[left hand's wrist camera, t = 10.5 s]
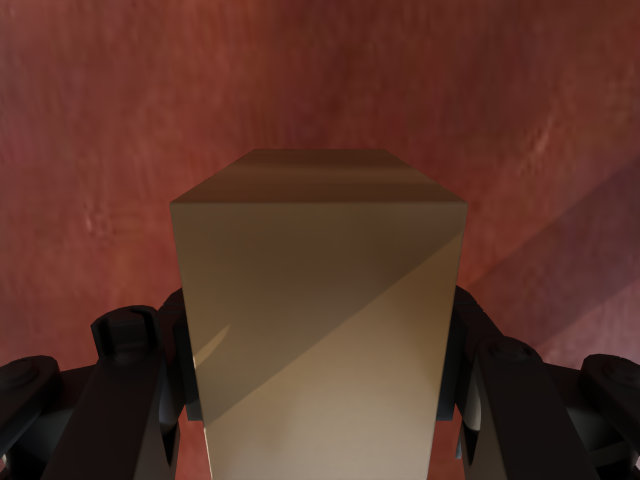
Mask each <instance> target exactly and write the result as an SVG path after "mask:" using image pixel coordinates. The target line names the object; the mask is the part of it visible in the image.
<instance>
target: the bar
mask: <svg viewBox="0 0 640 480" xmlns="http://www.w3.org/2000/svg"><path fill="white" fill-rule="evenodd" d="M467 208H468V202H466V201H465V200H463V199H462V198H460V197H458V196H457V195H455V194H454V193H452V192H451V191H449V190H448V189H446V188H444V187H443V186H441V185H440V184H438V183H437V182H435V181H433V180H432V179H430V178H429V177H427V176H426V175H424V174H422V173H421V172H419V171H418V170H416V169H415V168H413V167H411V166H410V165H408V164H407V163H405V162H404V161H402V160H400V159H399V158H397V157H396V156H394V155H393V154H391V153H390V152H388V151H386V150H385V149H254V150H252V151H251V152H249V153H248V154H246V155H244V156H243V157H241V158H240V159H238V160H237V161H235V162H233V163H232V164H230V165H229V166H227V167H225V168H224V169H222V170H221V171H219V172H218V173H216V174H214V175H213V176H211V177H210V178H208V179H206V180H205V181H203V182H202V183H200V184H199V185H197V186H195V187H194V188H192V189H191V190H189V191H187V192H186V193H184V194H183V195H181V196H180V197H178V198H176V199H175V200H173V201H172V202H170V212H171V218H172V224H173V231H174V237H175V244H176V250H177V257H178V263H179V270H180V276H181V283H182V289H183V296H184V302H185V309H186V315H187V322H188V328H189V335H190V341H191V348H192V354H193V361H194V367H195V374H196V380H197V387H198V393H199V400H200V406H201V413H202V419H203V426H204V432H205V439H206V445H207V452H208V458H209V465H210V471H211V478H212V480H427V475H428V468H429V461H430V455H431V448H432V441H433V435H434V428H435V421H436V415H437V408H438V401H439V395H440V388H441V381H442V375H443V368H444V361H445V355H446V348H447V342H448V335H449V328H450V322H451V315H452V308H453V302H454V295H455V288H456V282H457V275H458V268H459V262H460V255H461V248H462V242H463V235H464V228H465V222H466V215H467Z"/></svg>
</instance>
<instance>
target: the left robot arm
mask: <svg viewBox="0 0 640 480" xmlns="http://www.w3.org/2000/svg"><path fill="white" fill-rule="evenodd" d="M91 330H92V333H93V337H94V341H95V344H96V348H97V352H98V356H99V359H98V361H97V363H96V364H95V365H91V366H86V367H82V368H77V369H72V370H67V371H62V372H60V369H59V366H58V363H57V361H56V360H55V359H54V358H52V357H50V356H43V355H40V356H32V357H25V358H21V359H18V360H15V361H12V362H10V363H9V364H6V365H4V366H2V367H0V459H1V458H2V459H3V461H4V463H5V466H6V467H5V468H4V469H3V470H2V471H1V473H0V480H175V473H176V466H177V458H178V450H179V442H180V428H179V422H178V418H179V416H180V414H181V412H182V409H183V407H184V405H186V411H187V417H188V421H203V419H202V413H201V406H200V400H199V393H198V387H197V380H196V374H195V367H194V361H193V354H192V348H191V341H190V335H189V328H188V322H187V315H186V309H185V302H184V296H183V289H182V288H180V289H179V290H177V291H175V292H174V293H172V294H171V295H170V296H169V297H168V299H167V300H166V301H165V302H164V304H163V306H161V307H160V309H159V310H158V311H157V310H156V309H154V308H153V307H150V306H145V305H133V306H127V307H123V308H118V309H116V310H113V311H110V312H108V313H106V314H104V315H103V316H101V317H99V318H98V319H96V320H95V321H94V323H93V324H92V325H91ZM455 403H456V405H457V407H458V409H459V411H460V414H461V416H462V422H461V428H460V433H459V438H458V444H457V449H456V456H455V458H458V459H460V457H461V452H462V457H463V465H464V473H465V480H640V470H639V469H638V468H637V467H636V466H635V464H636V462H637V460H638V457H639V456H640V365H638V364H636V363H634V362H632V361H630V360H628V359H625V358H620V357H618V356H614V355H606V354H594V355H589V356H588V357H586V358H585V359H584V361H583V364H582V367H581V370H576V369H571V368H567V367H562V366H557V365H552V364H548V363H544V362H543V361H542V359H541V357H540V356H539V354H538V353H537V352H536V351H535V350H534V349H533V348H531V347H530V346H529V345H527V344H526V343H524V342H521V341H519V340H517V339H515V338H511V337H507V336H503V334H502V333H501V332H500V331H499V329H498V328H497V327H496V326H495V324H494V323H493V322H492V321H491V319H490V318H489V317H488V316H487V314H486V313H485V312H483V309H482V308H481V307H480V306H479V304H477V302H476V301H475V299H474V298H473V297H472V296H471V294H470V293H468V292H467V291H465V290H464V289H462V288H460V287H459V286H457V285H456V288H455V295H454V302H453V308H452V315H451V322H450V328H449V335H448V342H447V348H446V355H445V361H444V368H443V375H442V381H441V388H440V395H439V401H438V408H437V415H436V421H452V418H453V413H454V407H455Z"/></svg>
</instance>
